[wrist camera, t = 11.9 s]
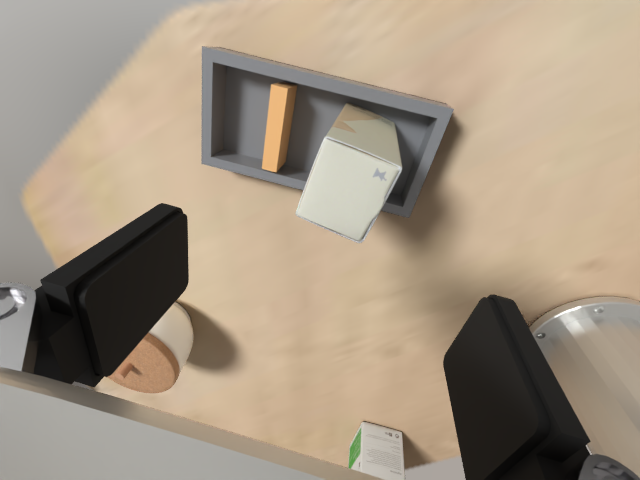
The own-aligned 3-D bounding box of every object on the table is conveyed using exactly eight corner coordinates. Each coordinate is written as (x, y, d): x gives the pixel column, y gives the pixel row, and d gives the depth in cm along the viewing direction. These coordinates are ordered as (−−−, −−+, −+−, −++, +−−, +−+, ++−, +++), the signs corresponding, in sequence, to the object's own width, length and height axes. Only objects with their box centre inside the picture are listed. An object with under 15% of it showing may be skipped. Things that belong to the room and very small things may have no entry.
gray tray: (445, 103, 24) (453, 109, 21) (406, 203, 28) (409, 218, 26) (220, 47, 24) (201, 46, 22) (217, 154, 29) (201, 163, 26)
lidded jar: (145, 339, 45) (95, 399, 37) (119, 280, 40) (54, 336, 32) (214, 347, 43) (177, 412, 35) (197, 286, 38) (149, 348, 30)
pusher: (297, 85, 24) (287, 88, 22) (285, 161, 27) (276, 172, 25) (282, 81, 24) (271, 84, 22) (272, 158, 27) (261, 168, 25)
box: (346, 100, 24) (326, 128, 15) (397, 122, 24) (408, 164, 15) (322, 161, 27) (292, 218, 18) (368, 181, 27) (362, 247, 18)
